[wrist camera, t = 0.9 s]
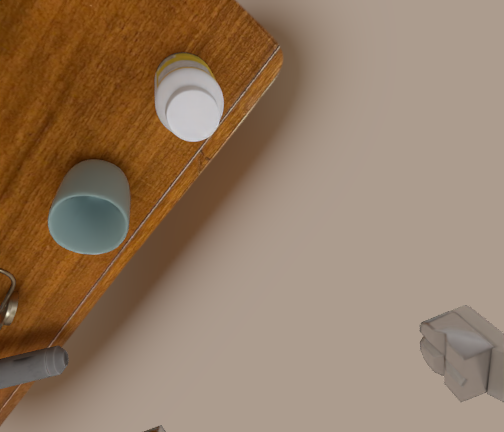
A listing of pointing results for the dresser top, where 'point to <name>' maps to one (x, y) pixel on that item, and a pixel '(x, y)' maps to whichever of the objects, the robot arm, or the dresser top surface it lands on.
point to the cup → (91, 208)
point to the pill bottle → (187, 97)
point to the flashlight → (32, 366)
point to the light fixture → (9, 302)
